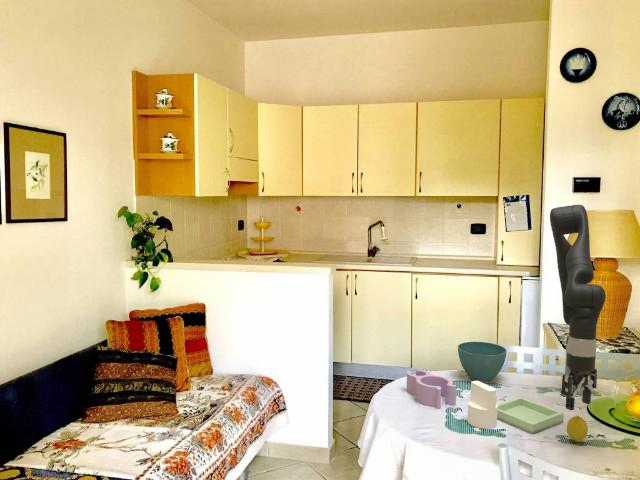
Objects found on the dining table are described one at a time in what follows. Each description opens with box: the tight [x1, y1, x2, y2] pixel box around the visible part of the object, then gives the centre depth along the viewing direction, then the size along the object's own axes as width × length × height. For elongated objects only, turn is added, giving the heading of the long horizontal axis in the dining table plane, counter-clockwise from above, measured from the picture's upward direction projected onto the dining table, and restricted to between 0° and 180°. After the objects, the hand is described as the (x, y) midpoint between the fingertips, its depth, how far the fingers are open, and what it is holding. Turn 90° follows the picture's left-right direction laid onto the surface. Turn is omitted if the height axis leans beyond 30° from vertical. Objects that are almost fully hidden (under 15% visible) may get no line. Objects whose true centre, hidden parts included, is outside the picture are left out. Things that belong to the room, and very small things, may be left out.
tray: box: [496, 396, 564, 435], centre depth 175 cm, size 16×16×3 cm
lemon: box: [566, 415, 589, 443], centre depth 159 cm, size 6×6×8 cm
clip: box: [405, 369, 457, 410], centre depth 192 cm, size 20×12×7 cm, turn 27°
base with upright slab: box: [467, 380, 498, 430], centre depth 172 cm, size 9×9×12 cm
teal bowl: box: [457, 341, 508, 383], centre depth 212 cm, size 18×18×12 cm
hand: (578, 406), depth 159 cm, fingers open, 8 cm apart
